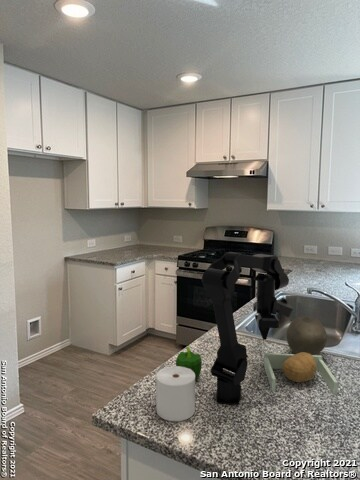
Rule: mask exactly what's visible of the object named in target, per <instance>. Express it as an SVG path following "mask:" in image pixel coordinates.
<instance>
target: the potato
mask: <svg viewBox="0 0 360 480" xmlns="http://www.w3.org/2000/svg"><path fill="white" fill-rule="evenodd" d="M281 370H282V372H283V374H284V376H286V378H287V379H288V380H290V381H292V382H296V383H304V382H307V381H310V380H312V379H314V376H315V374H316V373H317V372H318V371H317V369H316V361H315V359H314V357H313V356H312V355H311V354H309V353H305V352H301V353H298V354H295V355H292V356H290V357H289V358H287V359H286V360H285V361H284V363H283V365H282V369H281Z"/></svg>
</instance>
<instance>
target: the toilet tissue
mask: <svg viewBox="0 0 360 480" xmlns="http://www.w3.org/2000/svg"><path fill="white" fill-rule="evenodd" d="M155 380H156V381H155V393H156V395H155V398H156V403H155V407H156V408H155V409H156V413H157V415H158V416H159V417H160V418H161V419H164V420H165V421H169V422H182V421H183V422H184V421H186V420H188V419H190V418H191V417H192V416H193V415H194V414H195V411H196V381H195V373H194V372H193V371H192V370H191V369H189V368H185V367H180V366H176V365H175V366H172V365H171V366H167V367H165V363H164V362H163V363H162V364H161V365H160V366H159V367H158V369H157V371H156V377H155Z"/></svg>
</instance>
